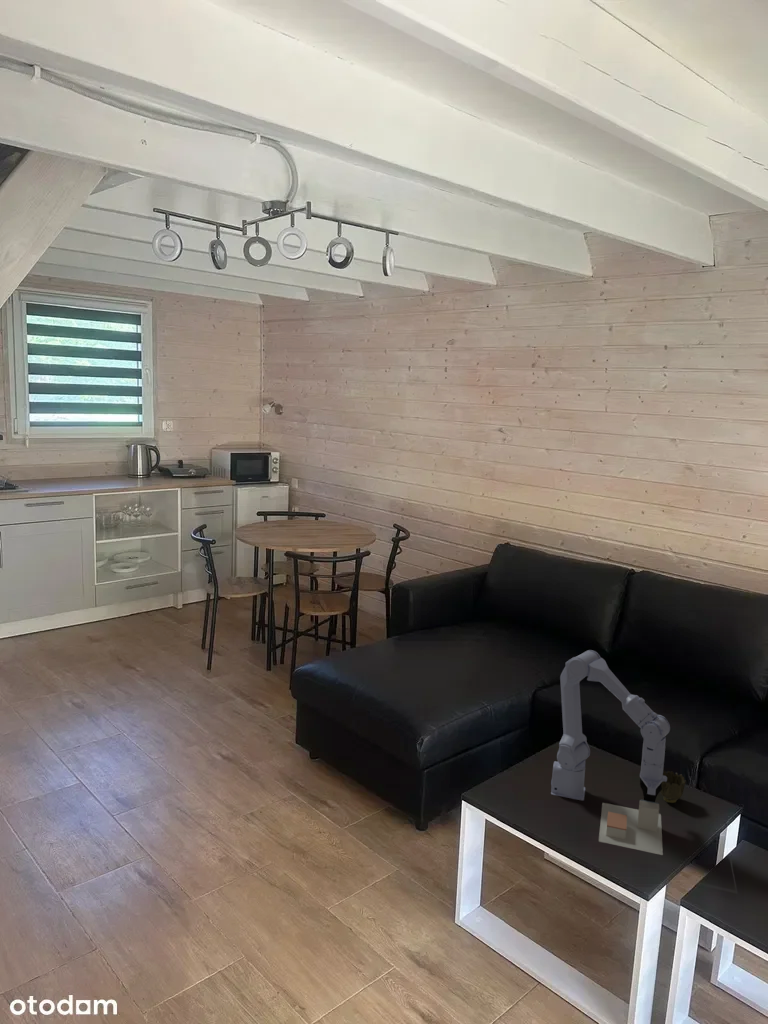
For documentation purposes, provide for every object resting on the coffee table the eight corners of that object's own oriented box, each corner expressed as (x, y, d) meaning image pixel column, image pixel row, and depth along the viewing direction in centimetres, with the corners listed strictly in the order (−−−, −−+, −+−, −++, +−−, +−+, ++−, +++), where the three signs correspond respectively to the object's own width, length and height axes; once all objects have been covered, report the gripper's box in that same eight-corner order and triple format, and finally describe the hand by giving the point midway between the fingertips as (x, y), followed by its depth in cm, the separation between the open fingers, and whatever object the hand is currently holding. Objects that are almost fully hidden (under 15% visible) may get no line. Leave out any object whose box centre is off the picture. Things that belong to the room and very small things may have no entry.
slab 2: (637, 827, 199) (639, 806, 197) (637, 820, 202) (639, 799, 200) (656, 831, 197) (659, 810, 195) (656, 824, 200) (658, 803, 198)
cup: (685, 810, 209) (688, 784, 208) (658, 807, 210) (661, 781, 209) (680, 796, 216) (683, 772, 215) (654, 793, 218) (657, 768, 216)
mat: (598, 843, 192) (598, 841, 192) (602, 804, 211) (602, 802, 211) (662, 857, 187) (662, 855, 187) (660, 816, 206) (660, 814, 206)
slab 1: (607, 821, 201) (606, 835, 195) (608, 811, 201) (606, 825, 194) (626, 825, 200) (625, 839, 193) (626, 815, 199) (626, 829, 193)
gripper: (669, 775, 190) (665, 823, 192) (667, 750, 204) (663, 795, 206) (641, 770, 192) (637, 817, 194) (641, 746, 206) (637, 790, 208)
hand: (648, 805), depth 200 cm, fingers closed
